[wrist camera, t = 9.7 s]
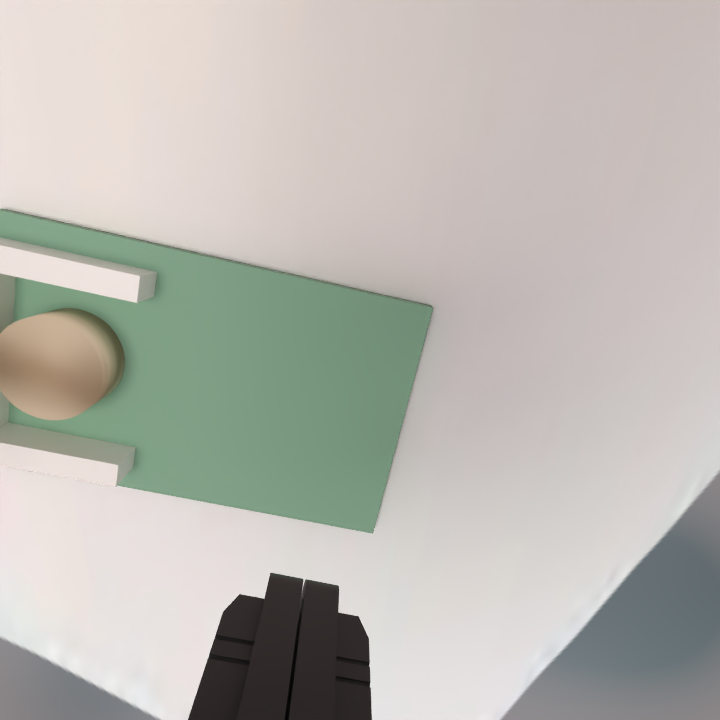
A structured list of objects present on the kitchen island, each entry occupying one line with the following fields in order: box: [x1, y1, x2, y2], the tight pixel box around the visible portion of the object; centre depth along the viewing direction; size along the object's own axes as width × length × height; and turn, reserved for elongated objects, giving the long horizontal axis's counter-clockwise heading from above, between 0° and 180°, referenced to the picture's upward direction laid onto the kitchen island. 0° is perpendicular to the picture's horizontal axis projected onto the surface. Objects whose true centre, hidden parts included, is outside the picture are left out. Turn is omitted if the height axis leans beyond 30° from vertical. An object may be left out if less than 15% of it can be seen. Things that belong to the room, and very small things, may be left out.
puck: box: [0, 308, 125, 420], centre depth 29 cm, size 6×6×3 cm
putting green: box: [0, 209, 433, 533], centre depth 32 cm, size 16×26×1 cm, turn 77°
